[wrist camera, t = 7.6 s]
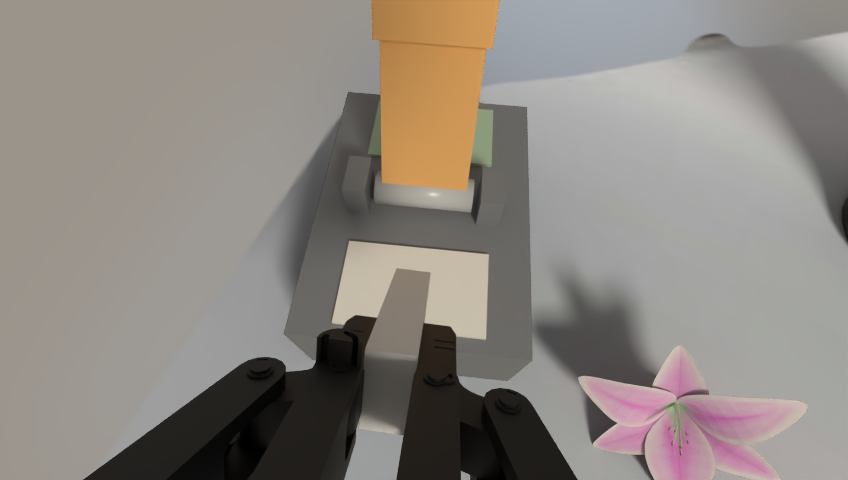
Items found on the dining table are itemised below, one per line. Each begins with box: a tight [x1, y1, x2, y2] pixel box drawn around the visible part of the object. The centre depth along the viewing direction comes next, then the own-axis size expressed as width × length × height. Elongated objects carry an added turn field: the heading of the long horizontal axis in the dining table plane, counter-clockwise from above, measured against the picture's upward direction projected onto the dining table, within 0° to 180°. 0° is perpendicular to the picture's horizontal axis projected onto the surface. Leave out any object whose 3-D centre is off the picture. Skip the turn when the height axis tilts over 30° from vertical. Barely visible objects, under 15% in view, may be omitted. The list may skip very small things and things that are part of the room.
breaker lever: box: [372, 0, 500, 212], centre depth 26 cm, size 3×7×14 cm, turn 83°
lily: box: [578, 345, 808, 480], centre depth 28 cm, size 12×12×10 cm
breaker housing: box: [284, 92, 532, 381], centre depth 33 cm, size 22×16×11 cm
